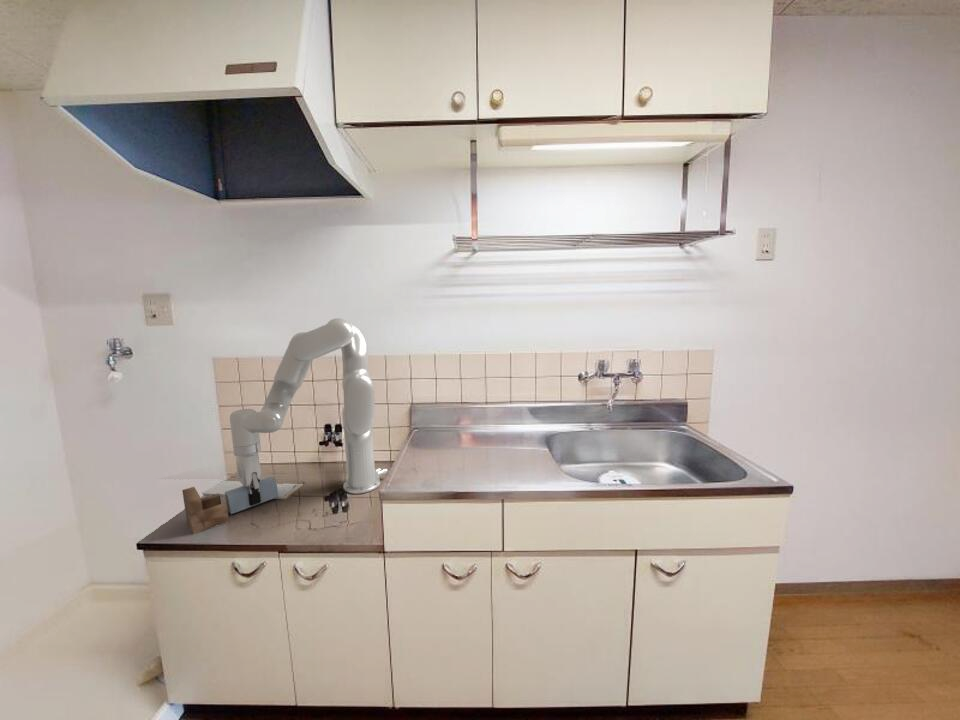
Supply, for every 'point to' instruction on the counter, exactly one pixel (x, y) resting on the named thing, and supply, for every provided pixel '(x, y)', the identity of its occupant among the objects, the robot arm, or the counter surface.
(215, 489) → the baseboard molding
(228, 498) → the slate slat
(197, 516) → the walnut end cap
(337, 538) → the counter surface
